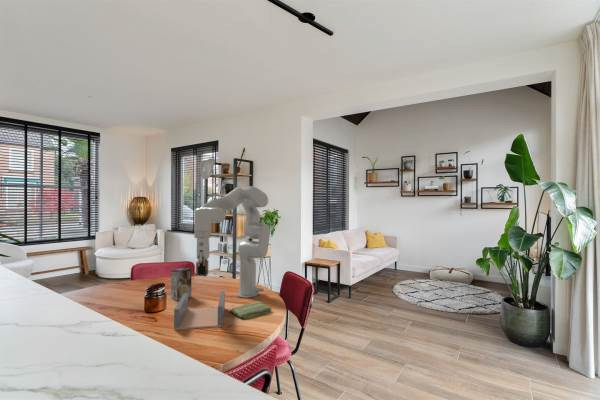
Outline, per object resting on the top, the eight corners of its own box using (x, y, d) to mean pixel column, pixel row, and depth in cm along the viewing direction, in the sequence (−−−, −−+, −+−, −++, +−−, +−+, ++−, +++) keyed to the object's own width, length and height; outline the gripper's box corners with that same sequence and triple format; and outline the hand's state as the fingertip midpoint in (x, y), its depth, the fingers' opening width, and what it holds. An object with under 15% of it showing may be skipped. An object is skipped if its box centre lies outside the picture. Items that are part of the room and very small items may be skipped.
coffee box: (185, 294, 180) (185, 267, 180) (191, 296, 176) (192, 268, 176) (170, 298, 172) (170, 269, 172) (176, 300, 168) (177, 271, 168)
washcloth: (228, 312, 153) (228, 306, 153) (259, 305, 164) (259, 299, 164) (241, 321, 142) (241, 314, 142) (273, 313, 153) (273, 306, 153)
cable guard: (224, 309, 158) (224, 291, 158) (222, 327, 135) (222, 306, 135) (183, 311, 154) (183, 293, 154) (174, 330, 131) (174, 309, 131)
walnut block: (208, 272, 147) (208, 260, 147) (207, 275, 143) (207, 262, 143) (197, 273, 146) (197, 260, 146) (195, 275, 142) (196, 262, 142)
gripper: (209, 236, 137) (208, 277, 137) (212, 232, 154) (212, 268, 154) (191, 236, 135) (191, 277, 135) (197, 232, 152) (196, 269, 152)
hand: (202, 272), depth 145 cm, fingers closed on walnut block, 5 cm apart
